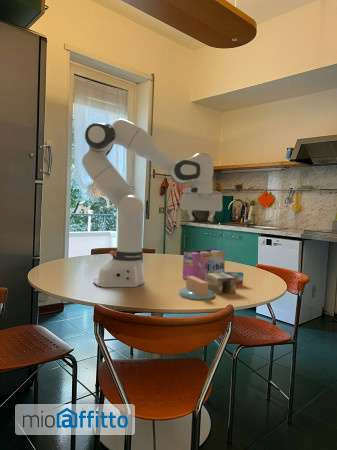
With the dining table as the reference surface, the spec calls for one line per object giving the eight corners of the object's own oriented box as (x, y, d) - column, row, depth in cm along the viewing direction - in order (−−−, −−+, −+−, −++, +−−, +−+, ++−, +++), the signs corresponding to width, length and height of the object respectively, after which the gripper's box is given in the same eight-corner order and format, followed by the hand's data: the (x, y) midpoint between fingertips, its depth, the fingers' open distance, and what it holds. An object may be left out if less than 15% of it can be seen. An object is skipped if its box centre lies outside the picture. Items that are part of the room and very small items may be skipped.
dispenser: (217, 295, 128) (218, 278, 128) (204, 288, 138) (205, 272, 138) (236, 293, 132) (237, 277, 131) (222, 286, 142) (223, 272, 142)
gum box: (214, 274, 170) (216, 248, 169) (226, 276, 164) (227, 250, 163) (181, 279, 155) (183, 251, 154) (193, 282, 149) (194, 253, 148)
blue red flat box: (241, 285, 148) (242, 271, 147) (242, 285, 146) (243, 272, 146) (216, 284, 146) (217, 271, 146) (217, 285, 145) (218, 272, 144)
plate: (188, 301, 118) (188, 298, 118) (173, 291, 131) (173, 288, 131) (220, 298, 123) (221, 295, 123) (203, 289, 136) (203, 286, 136)
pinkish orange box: (200, 296, 121) (201, 283, 121) (186, 288, 132) (186, 276, 132) (207, 295, 123) (207, 282, 122) (192, 287, 134) (193, 275, 133)
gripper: (218, 191, 150) (217, 220, 151) (179, 188, 142) (178, 219, 143) (226, 191, 144) (224, 221, 145) (185, 188, 136) (184, 220, 137)
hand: (201, 220), depth 144 cm, fingers open, 8 cm apart
